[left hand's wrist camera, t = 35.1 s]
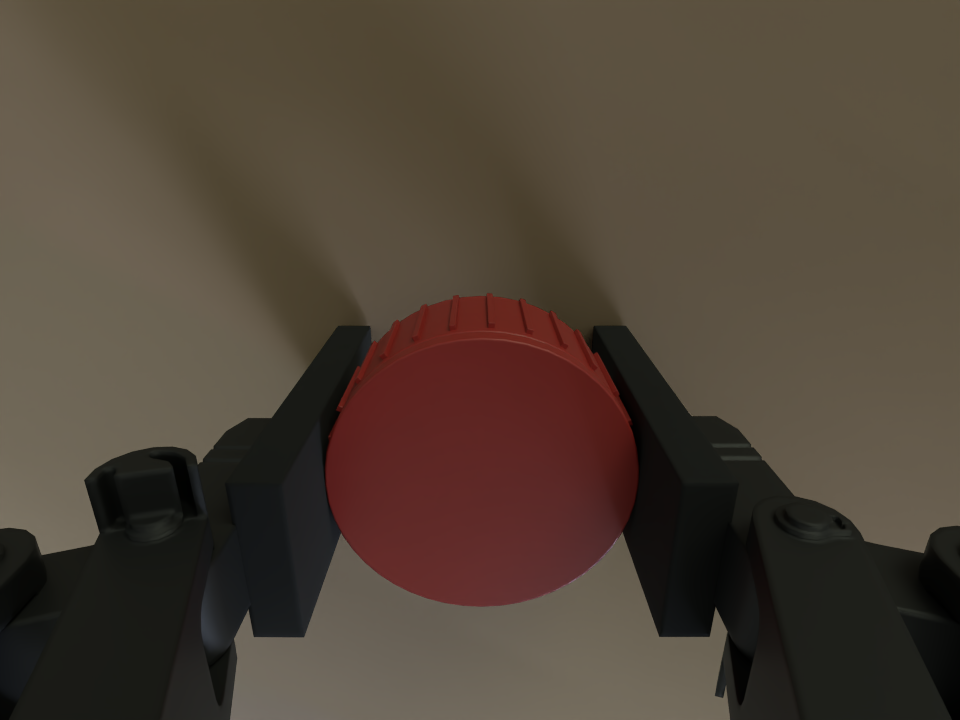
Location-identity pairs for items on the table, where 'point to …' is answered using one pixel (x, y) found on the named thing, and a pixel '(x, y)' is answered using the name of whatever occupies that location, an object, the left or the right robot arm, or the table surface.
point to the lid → (481, 454)
